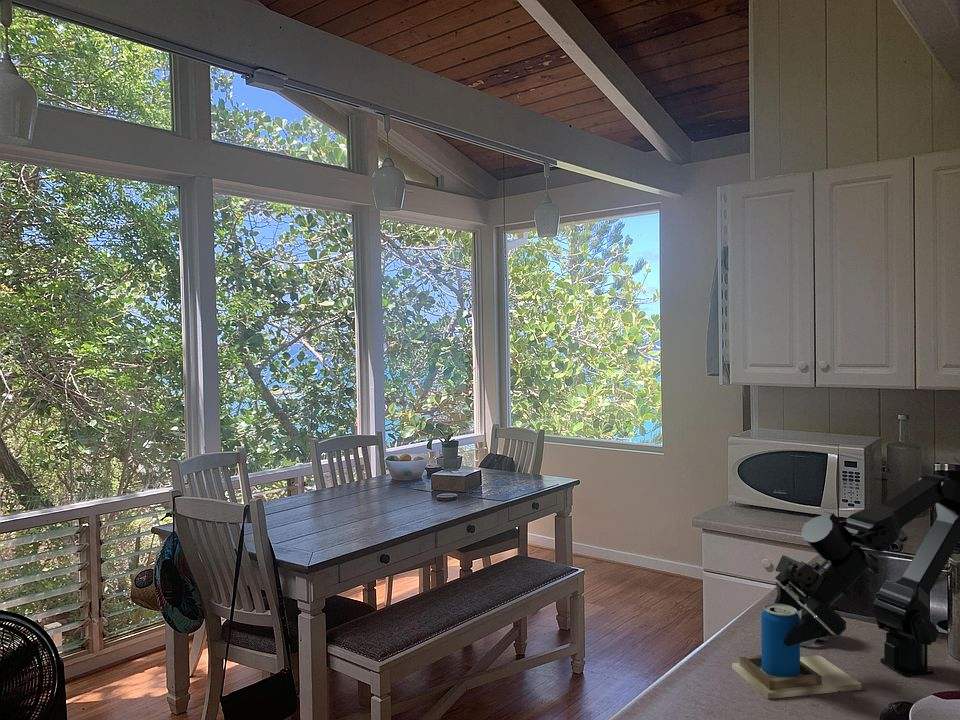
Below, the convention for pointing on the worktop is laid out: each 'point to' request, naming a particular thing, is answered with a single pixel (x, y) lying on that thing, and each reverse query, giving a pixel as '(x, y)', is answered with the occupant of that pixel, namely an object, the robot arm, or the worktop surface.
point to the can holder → (796, 678)
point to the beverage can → (779, 641)
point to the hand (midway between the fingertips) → (775, 633)
